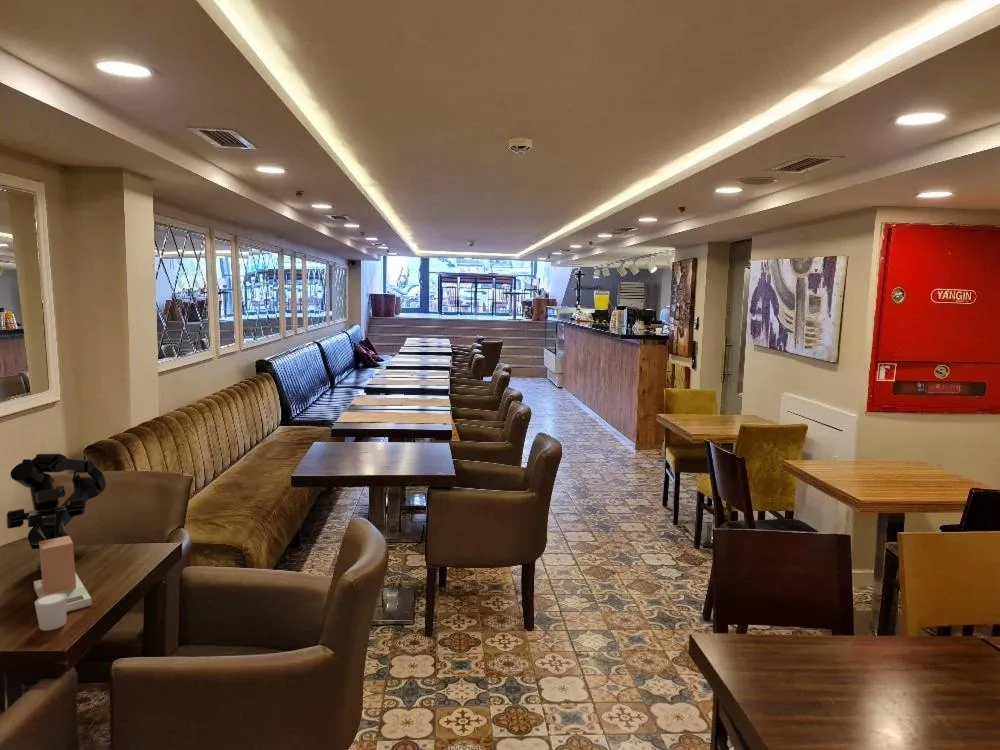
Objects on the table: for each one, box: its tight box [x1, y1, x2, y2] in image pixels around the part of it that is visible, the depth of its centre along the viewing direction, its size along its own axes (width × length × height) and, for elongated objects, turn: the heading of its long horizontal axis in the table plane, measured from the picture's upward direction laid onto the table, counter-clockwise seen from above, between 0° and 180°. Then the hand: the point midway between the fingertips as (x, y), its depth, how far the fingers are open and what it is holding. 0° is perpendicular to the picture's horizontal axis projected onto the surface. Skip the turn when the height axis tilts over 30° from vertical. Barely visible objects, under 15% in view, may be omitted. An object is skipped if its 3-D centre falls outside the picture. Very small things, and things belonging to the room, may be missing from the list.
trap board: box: [33, 572, 93, 612], centre depth 179 cm, size 22×10×2 cm, turn 43°
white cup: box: [34, 593, 67, 631], centre depth 163 cm, size 7×7×7 cm
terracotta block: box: [39, 535, 76, 595], centre depth 179 cm, size 7×7×13 cm
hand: (51, 538), depth 185 cm, fingers open, 2 cm apart
